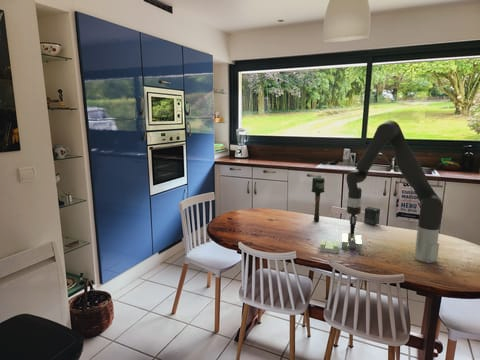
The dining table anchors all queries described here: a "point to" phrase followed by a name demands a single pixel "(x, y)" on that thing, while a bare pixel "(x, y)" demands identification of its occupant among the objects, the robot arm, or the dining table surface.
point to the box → (371, 215)
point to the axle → (351, 241)
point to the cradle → (329, 246)
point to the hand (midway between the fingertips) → (352, 233)
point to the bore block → (346, 242)
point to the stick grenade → (317, 194)
